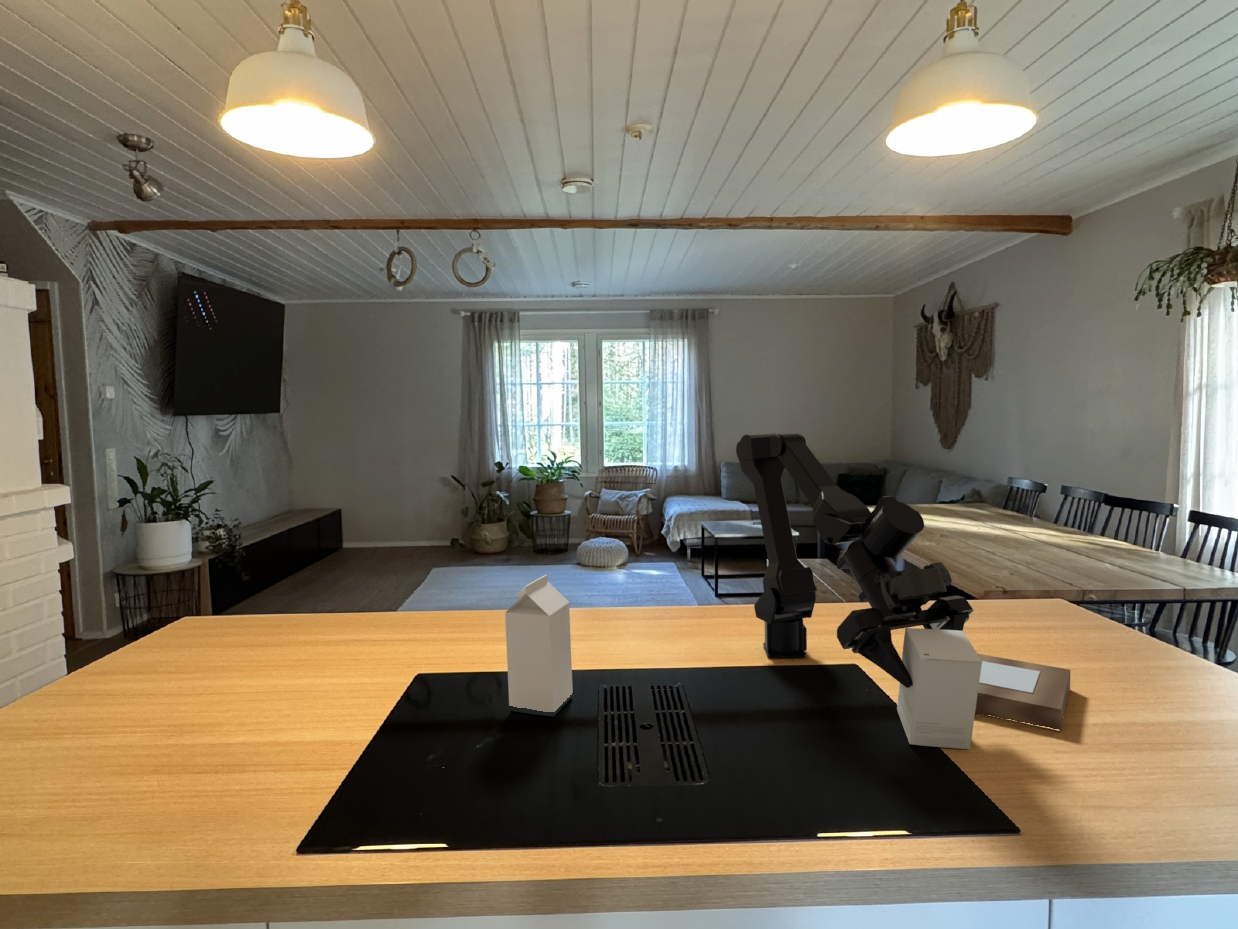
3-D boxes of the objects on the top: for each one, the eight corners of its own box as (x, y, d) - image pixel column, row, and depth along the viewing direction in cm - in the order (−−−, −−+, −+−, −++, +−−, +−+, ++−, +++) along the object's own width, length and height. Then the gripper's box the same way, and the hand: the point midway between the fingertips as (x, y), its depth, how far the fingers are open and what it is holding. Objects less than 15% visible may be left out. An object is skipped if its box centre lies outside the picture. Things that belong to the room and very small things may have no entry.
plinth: (927, 702, 96) (927, 681, 96) (951, 667, 109) (952, 648, 109) (1060, 732, 87) (1060, 708, 86) (1070, 689, 99) (1070, 668, 99)
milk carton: (573, 698, 102) (568, 575, 100) (553, 719, 95) (548, 587, 94) (531, 693, 104) (525, 573, 103) (509, 713, 97) (503, 585, 96)
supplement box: (971, 751, 83) (984, 662, 79) (908, 745, 84) (917, 658, 80) (953, 712, 90) (965, 629, 86) (895, 708, 91) (903, 625, 87)
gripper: (849, 549, 86) (914, 660, 76) (961, 537, 92) (1035, 639, 82) (813, 596, 94) (868, 703, 84) (918, 582, 100) (981, 680, 90)
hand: (939, 680), depth 85 cm, fingers closed on supplement box, 9 cm apart
